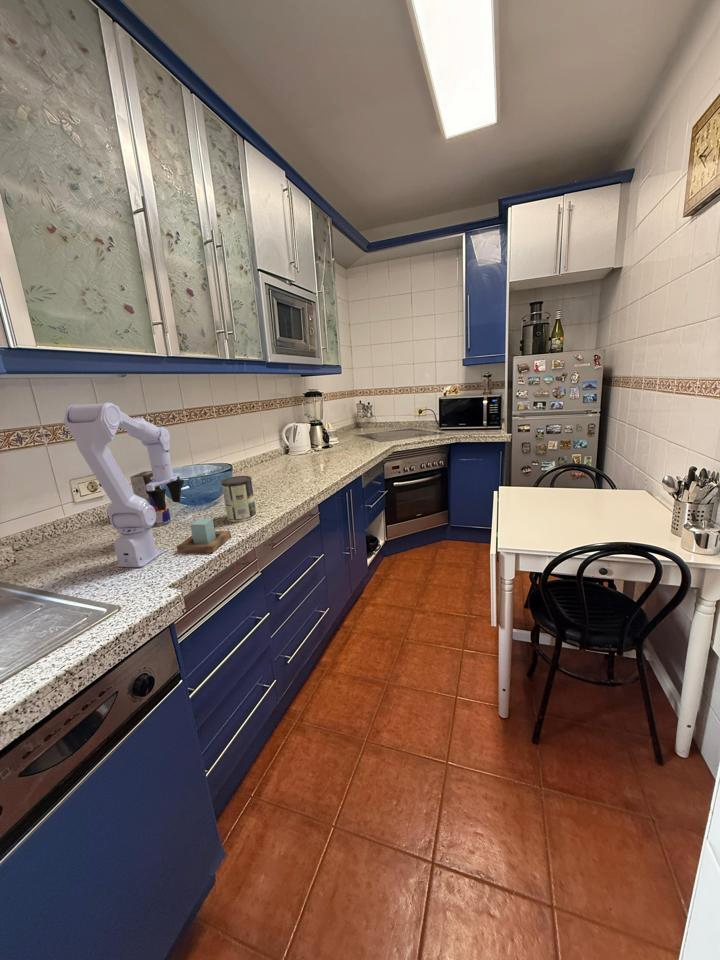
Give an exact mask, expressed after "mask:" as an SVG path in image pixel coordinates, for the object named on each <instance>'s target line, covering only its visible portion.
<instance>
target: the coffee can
mask: <svg viewBox="0 0 720 960" xmlns="http://www.w3.org/2000/svg"><path fill="white" fill-rule="evenodd" d="M252 480H253V479H252V476H249V475H235V476H231V477H230V476H229V477H226V478H224V479H222V480H221V481H220V484H221V487H222V488H221V489H222V493H223V499H224V507H225V510H226V512H225V513H226V517H227V521H229V522H233V523H240V522H246V521H249V520H252V519H254V518H255V517H257V514H258V513H257V510H256V504H255V503H256V502H255V497H254V496H255V495H254V488H253V482H252Z"/></svg>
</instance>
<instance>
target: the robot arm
mask: <svg viewBox="0 0 720 960" xmlns="http://www.w3.org/2000/svg"><path fill="white" fill-rule="evenodd" d="M63 423H64V425H65V426H66V428H67V430H68V431H69V433H70V434H71V436H72V438H73V439H74V441H75V442H76V446H77V448H78V451H79V453H80V454H81V456H82V457H83V458H84V460H85V462H86V463H87V465H88V466H89V468H90V470H91V471H92V472H93V473H92V474H94V476H95V478H96V479H97V481H98V483H99V484H100V486H101V487H102V490H104V492H105V494H106V496H107V497H108V499H109V500H110V504H109V506H108V507H107V511H106V513H107V515H108V516H109V521H110V524H111V526H112V527H113V528H114V529H115V530H117V532H118V533H120V535H119V537H118V538H117V539H116V540H115V541H114V545H113V547H114V551H115V555H116V559H117V564H116V567H117V568H144V567H145V566H146V565H147V564H149V563H150V562H152V561H153V560H154V559H156V558H157V557H159V556H160V555H161V554H163V553H164V552H165V550H164V549H157V547H156V543H155V539H154V533H153V529H152V527H153V526H154V523H155V520H156V512H155V509H154V508H153V507H152V506H151V505H150V504H149V503H148V502H147V500H146V499H144V498H141V497H139V496H137V495H135V494H134V493H133V488H132V486H131V485H130V484H129V482H128V480H127V479H126V477H125V474H124V473H123V471H122V469H121V468H120V465H118V463H117V461H116V459H115V457H114V456H113V453H112V452H111V450H110V448H109V447H108V444H109V443H111V442H112V441H114V439H115V435H116V433H117V432H118V428H119V429H123V430H125V431H126V433H127V434H128V435H129V436H130V437H132V438H134V439H136V440H139V441H140V442H141V444H142V445H143V446H144V447H145V446H146V448H147V453H148V460H149V462H150V467H151V471H152V473H153V478H154V480H153V481H151V482H150V483H149V484H147V485H146V488H147V490H146V493H147V494H148V495H149V496H150V497H151V498H152V499H153V501H154V503H155V504H156V506H157V508H158V510H165V509H166V503H165V494H166V492H167V489H168V491H169V493H170V494H169V495H170V497H171V501H172V502H173V503H179V502H181V493H182V488H183V485H184V482H185V481H184V479H182V475H181V472H174V470H173V466H172V461H171V456H170V455H171V454H170V448H171V445H170V441H171V434H170V432H169V430H168V429H167V428H166V427H164V426H157V425H155V423H152V422H149V421H146V420H145V418H144V417H140V416H139V417H134V418H132V417H131V416H129V415H128V414H126V413H124V412H123V411H121V409H120V407H119V405H116V404H114V403H112V402H104V403H90V404H71V405H69V406H68V407H66V409H65V414H64V420H63ZM165 485H166V486H167V488H163V489H161V488H160V487H161V486H162V487H163V486H165Z"/></svg>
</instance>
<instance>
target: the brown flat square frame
mask: <svg viewBox="0 0 720 960" xmlns="http://www.w3.org/2000/svg"><path fill="white" fill-rule="evenodd" d="M215 535H216V538H215V539H214V540H213V541H212V542H211V543H209V544H199V543H194V541H193V536H192V535H190V536H189V537H188V538H186V539H185V540H184V541H181V543H180V544H178V545H176V550H177V553H178V554H179V553H180V554H183V553H184V554H185V553H186V554H212V553H211V552H214V553H216V551H217V550H218V549H220V548H221V547H222V546H223V545H224V544H226V543H227V541H228V540H230V539H231V538H232V534H231V531H230V530H215ZM219 547H220V548H219ZM191 552H192V553H191ZM197 552H198V553H197ZM209 552H210V553H209Z"/></svg>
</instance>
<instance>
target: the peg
mask: <svg viewBox="0 0 720 960" xmlns="http://www.w3.org/2000/svg"><path fill="white" fill-rule="evenodd" d="M190 531H191V536H193V541H194V543H199V544H209V543H211V542H212V541H213V540H214V539H215V538H216V535H215V531H216V530H215V525H214V520H213V518H198V519H197V520H195V521H194V522H192V523H191V524H190Z"/></svg>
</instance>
